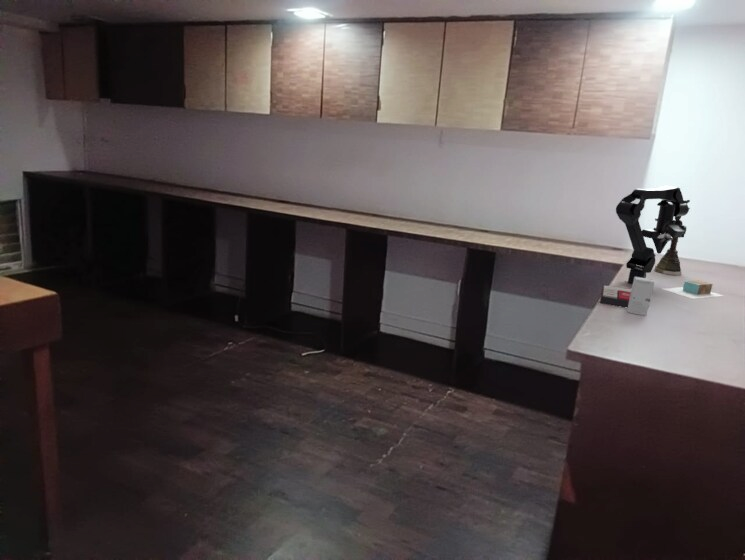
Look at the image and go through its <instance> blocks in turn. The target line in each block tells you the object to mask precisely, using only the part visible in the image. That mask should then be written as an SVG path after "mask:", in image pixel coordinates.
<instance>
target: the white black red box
mask: <svg viewBox="0 0 745 560" xmlns="http://www.w3.org/2000/svg"><path fill="white" fill-rule="evenodd" d="M631 290H632V289H628V288H623V287H618V286H617V287H616V286H612V285H611V286H609V285H602V288H601V294H600V301H599V302H600V304H602V305H609V306H613V305H614V307H619V306H621V307H620V308H625V307H627V308H628V303H629V299H630V294H631ZM627 308H626V309H627Z"/></svg>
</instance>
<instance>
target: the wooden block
mask: <svg viewBox="0 0 745 560" xmlns="http://www.w3.org/2000/svg"><path fill="white" fill-rule="evenodd" d="M682 287H683V291H686V292H689V293H693V294H696V295H698V294H709V293H711V292H712V289H713V283H711V282H707V281H703V280H700V279H694V280H693V279H692V280H685V281H684V283H683V286H682Z"/></svg>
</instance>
